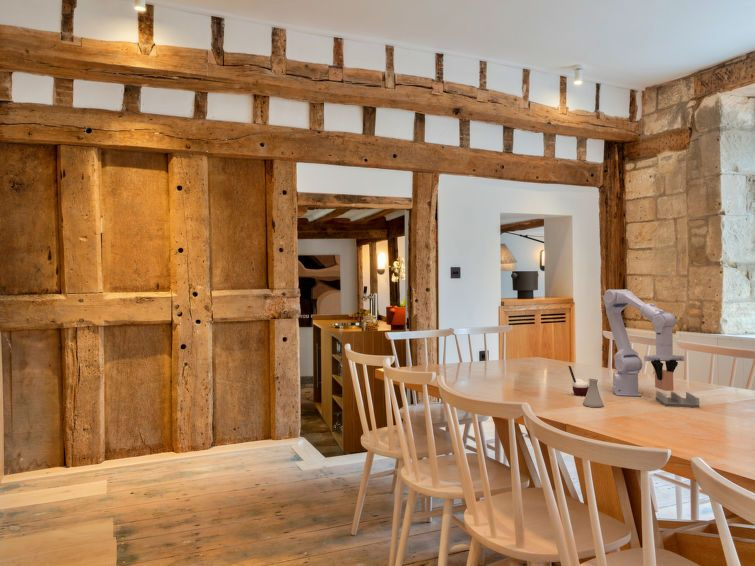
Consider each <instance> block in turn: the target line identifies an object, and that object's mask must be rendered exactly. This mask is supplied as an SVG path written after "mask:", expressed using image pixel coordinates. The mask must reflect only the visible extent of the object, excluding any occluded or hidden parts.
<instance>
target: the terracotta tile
mask: <svg viewBox="0 0 755 566" xmlns="http://www.w3.org/2000/svg"><path fill="white" fill-rule="evenodd" d="M654 387H655V388H656V389H659V390H662V391H665V392H666V391H667V392H671V391H673V392H674V372H671V371H667V370H666V369H663V368H662V380H658V379H657V375H656V372H655V371H654Z"/></svg>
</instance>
